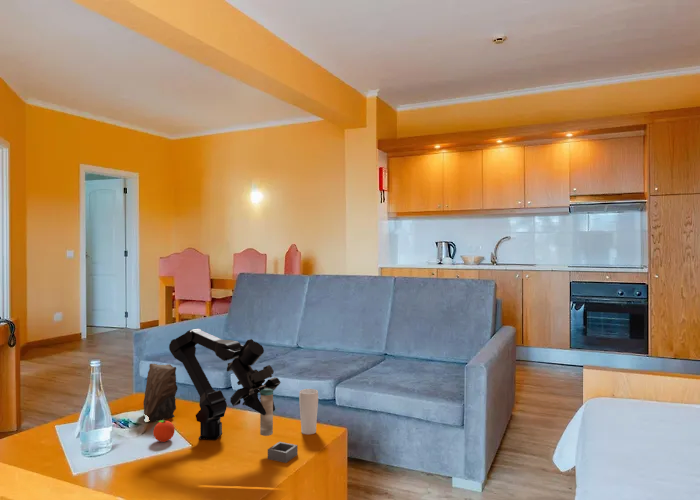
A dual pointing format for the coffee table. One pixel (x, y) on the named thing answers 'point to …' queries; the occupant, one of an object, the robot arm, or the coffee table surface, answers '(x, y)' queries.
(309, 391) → the drinking glass
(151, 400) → the brown tree stump
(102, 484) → the coffee table surface
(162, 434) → the tomato
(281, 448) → the charcoal holder block
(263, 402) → the ivory peg
